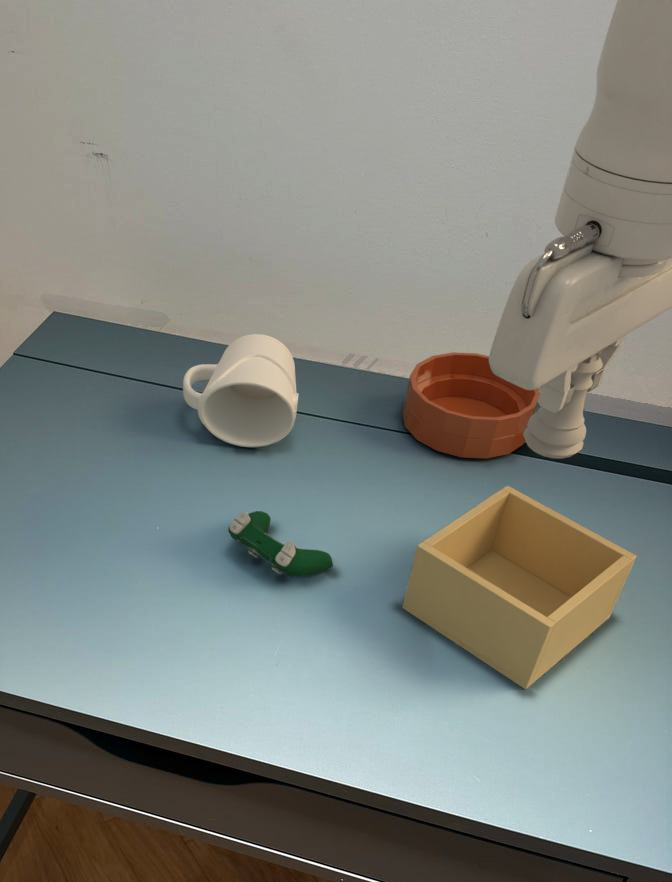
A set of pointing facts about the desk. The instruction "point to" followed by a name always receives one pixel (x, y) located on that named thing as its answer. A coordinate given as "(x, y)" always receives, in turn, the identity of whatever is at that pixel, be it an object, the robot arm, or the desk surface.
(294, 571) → the green two-tone curved device
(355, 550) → the desk surface
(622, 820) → the desk surface
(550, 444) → the rook chess piece
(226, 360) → the mug
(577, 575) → the bin
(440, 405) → the bowl
